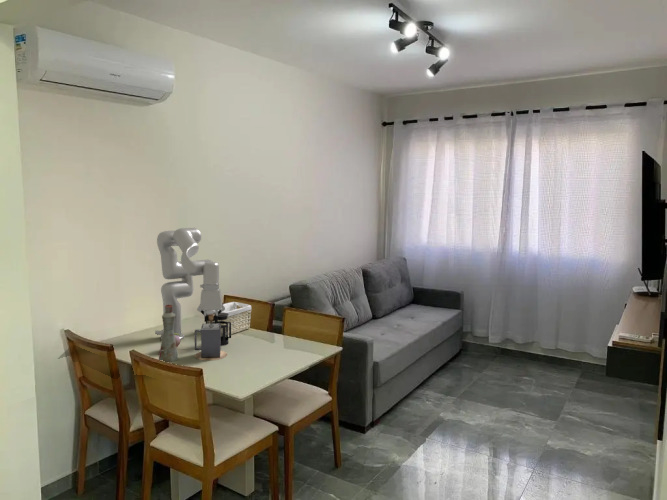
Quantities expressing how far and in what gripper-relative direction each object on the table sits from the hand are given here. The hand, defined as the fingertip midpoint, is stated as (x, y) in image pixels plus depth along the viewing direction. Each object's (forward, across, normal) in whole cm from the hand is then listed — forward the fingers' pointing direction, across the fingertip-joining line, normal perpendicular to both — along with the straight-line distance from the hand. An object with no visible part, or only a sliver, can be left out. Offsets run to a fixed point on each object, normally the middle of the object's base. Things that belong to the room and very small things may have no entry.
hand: (211, 322), depth 252 cm
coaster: (+17, 0, 0) cm, 17 cm away
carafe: (+17, -2, 0) cm, 17 cm away
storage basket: (+18, +8, +46) cm, 50 cm away
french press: (+18, +4, +19) cm, 26 cm away
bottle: (+18, -20, -4) cm, 27 cm away
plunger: (+15, 0, 0) cm, 15 cm away
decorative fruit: (+18, -21, +11) cm, 30 cm away
